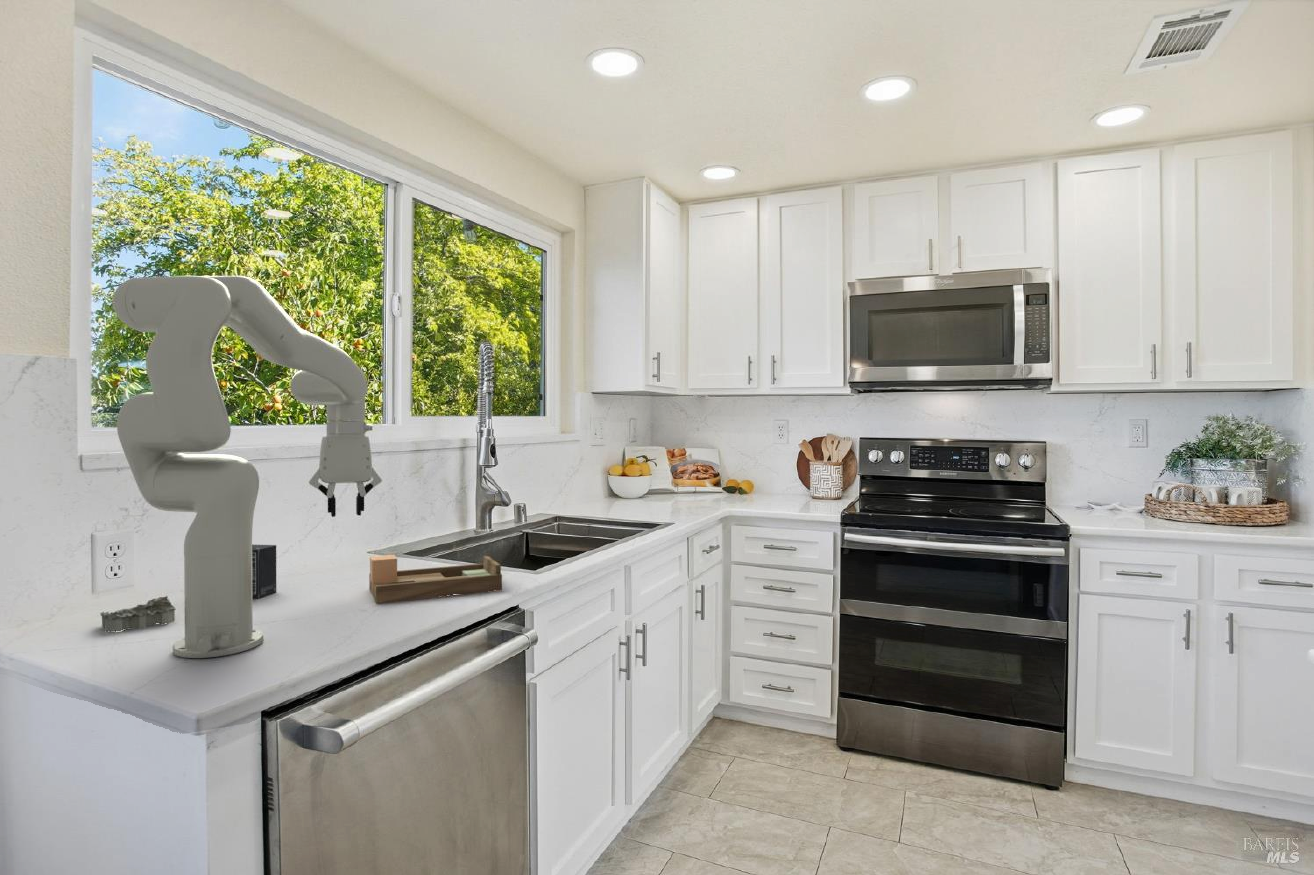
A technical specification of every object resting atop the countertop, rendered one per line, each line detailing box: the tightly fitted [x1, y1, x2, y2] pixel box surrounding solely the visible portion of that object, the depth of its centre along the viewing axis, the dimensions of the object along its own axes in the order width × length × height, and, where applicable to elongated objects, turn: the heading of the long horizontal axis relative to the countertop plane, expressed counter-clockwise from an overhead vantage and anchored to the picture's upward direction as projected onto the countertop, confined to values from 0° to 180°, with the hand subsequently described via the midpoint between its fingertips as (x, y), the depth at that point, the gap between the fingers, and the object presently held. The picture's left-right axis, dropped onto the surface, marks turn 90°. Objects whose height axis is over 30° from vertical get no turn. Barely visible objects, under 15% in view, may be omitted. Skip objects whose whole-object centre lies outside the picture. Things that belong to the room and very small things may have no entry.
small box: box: [252, 544, 277, 599], centre depth 150 cm, size 11×6×10 cm, turn 84°
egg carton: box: [99, 595, 177, 633], centre depth 128 cm, size 11×8×4 cm
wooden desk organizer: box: [368, 555, 503, 605], centre depth 156 cm, size 14×26×6 cm, turn 118°
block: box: [369, 554, 398, 584], centre depth 154 cm, size 5×5×5 cm
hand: (346, 514), depth 150 cm, fingers open, 4 cm apart
